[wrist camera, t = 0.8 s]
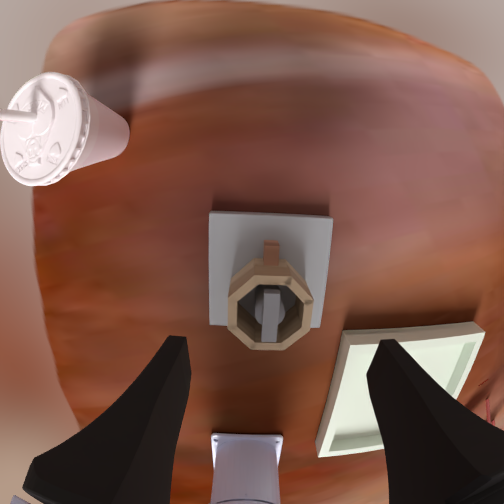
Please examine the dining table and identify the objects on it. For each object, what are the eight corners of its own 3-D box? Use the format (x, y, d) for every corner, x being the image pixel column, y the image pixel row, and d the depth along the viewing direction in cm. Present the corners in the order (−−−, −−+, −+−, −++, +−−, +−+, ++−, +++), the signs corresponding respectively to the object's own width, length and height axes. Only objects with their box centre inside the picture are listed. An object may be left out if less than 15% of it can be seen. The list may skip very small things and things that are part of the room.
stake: (317, 320, 26) (330, 355, 20) (211, 317, 25) (202, 353, 20) (329, 216, 23) (350, 231, 18) (211, 210, 23) (199, 224, 18)
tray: (428, 424, 31) (435, 436, 28) (315, 441, 30) (318, 457, 28) (473, 321, 26) (485, 332, 24) (342, 330, 26) (350, 345, 23)
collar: (298, 339, 25) (304, 365, 21) (230, 338, 25) (227, 364, 21) (309, 241, 22) (319, 256, 19) (231, 238, 22) (228, 252, 19)
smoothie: (145, 92, 20) (36, 30, 7) (146, 171, 22) (27, 189, 9) (77, 106, 20) (-49, 82, 7) (78, 179, 22) (-52, 208, 9)
